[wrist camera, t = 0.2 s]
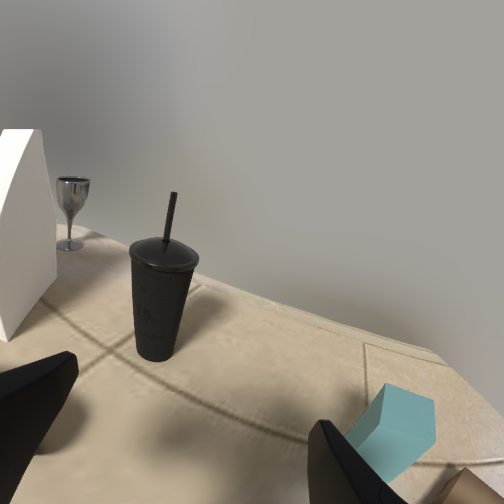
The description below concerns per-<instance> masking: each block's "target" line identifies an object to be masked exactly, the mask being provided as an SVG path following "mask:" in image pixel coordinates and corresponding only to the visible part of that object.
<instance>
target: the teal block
mask: <svg viewBox="0 0 504 504" xmlns="http://www.w3.org/2000/svg"><path fill="white" fill-rule="evenodd" d="M345 439H346V440H347V441H348V442H349V443H350V444H351V445H352V447H353V448H354V449H355V450H356V451H357V452H358V453H359V454H360V456H361V457H362V458H363V459H364V460H365V461H366V462H367V463H368V464H369V466H370V467H371V468H372V469H373V470H374V471H375V472H376V473H377V474H378V475H379V476H380V477H381V479H382V480H383V481H384V482H385V483H386V484H388V483H389V482H391V481H392V480H393V479H394V478H396V477H397V476H398V475H399V474H401V473H402V472H403V471H404V470H406V469H407V468H408V467H409V466H410V465H412V464H413V463H414V462H415V461H416V460H417V459H418V458H419V457H421V456H422V455H423V454H424V453H425V452H426V451H427V450H428V449H429V448H430V447H431V446H432V445H433V444H434V443H435V442H436V429H435V410H434V400H432V399H429V398H426V397H423V396H420V395H417V394H415V393H412V392H409V391H406V390H404V389H401V388H398V387H396V386H393V385H391V384H388V383H385V384H384V386H383V387H382V389H381V390H380V392H379V393H378V395H377V396H376V397H375V399H374V400H373V401H372V403H371V404H370V406H369V407H368V408H367V409H366V411H365V412H364V413H363V415H362V416H361V417H360V419H359V420H358V421H357V422H356V424H355V425H354V426H353V427H352V428H351V430H350V431H349V432H348V433H347V434H346V436H345Z"/></svg>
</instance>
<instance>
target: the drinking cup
mask: <svg viewBox="0 0 504 504" xmlns="http://www.w3.org/2000/svg"><path fill="white" fill-rule="evenodd" d="M177 194H178V193H177V192H171V195H170V201H169V206H168V212H167V218H166V224H165V230H164V237H163V238H162V237H155V238H149V239H145V240H140V241H137V242H134V243H133V244H132V245H131V246H130V248H129V255H130V257H131V272H132V299H133V315H134V328H135V338H136V348H137V352H138V354H139V355H140V356H141V357H142V358H144V359H146V360H148V361H152V362H162V361H165V360H167V359H169V358H170V357H171V356H172V354H173V350H174V345H175V341H176V337H177V333H178V329H179V325H180V321H181V317H182V313H183V309H184V305H185V301H186V298H187V294H188V290H189V286H190V283H191V279H192V275H193V272H194V268H195V267H196V266H197V265H198V263H199V256H198V254H197V253H196V252H195V251H194V250H193V249H191V248H190V247H187V246H186V245H184V244H183V243H181V242H179V241H176V240H173V239H170V233H171V227H172V221H173V215H174V210H175V204H176V199H177Z"/></svg>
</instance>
